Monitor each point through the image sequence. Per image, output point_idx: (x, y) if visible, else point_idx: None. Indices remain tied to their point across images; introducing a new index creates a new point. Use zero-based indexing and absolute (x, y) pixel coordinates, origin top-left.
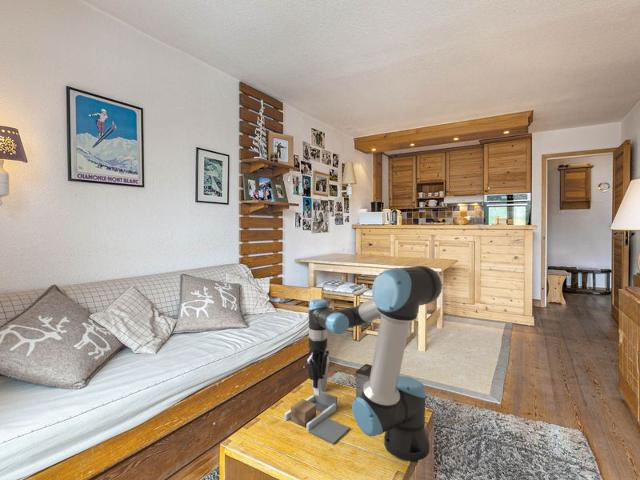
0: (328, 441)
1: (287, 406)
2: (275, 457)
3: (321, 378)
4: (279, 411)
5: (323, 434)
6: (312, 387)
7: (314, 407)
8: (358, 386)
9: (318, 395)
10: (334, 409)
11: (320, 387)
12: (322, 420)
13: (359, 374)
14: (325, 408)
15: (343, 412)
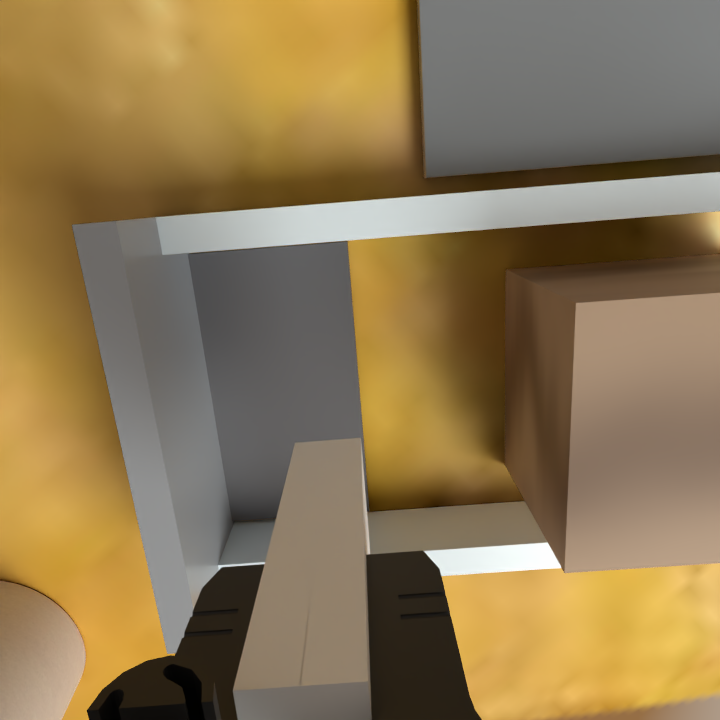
0: None
1: (504, 645)
2: None
3: (214, 705)
4: (623, 639)
5: None
6: (68, 704)
7: (617, 293)
8: None
9: (361, 445)
10: (212, 212)
11: (293, 518)
12: (515, 167)
13: None
14: (265, 328)
15: (152, 95)
